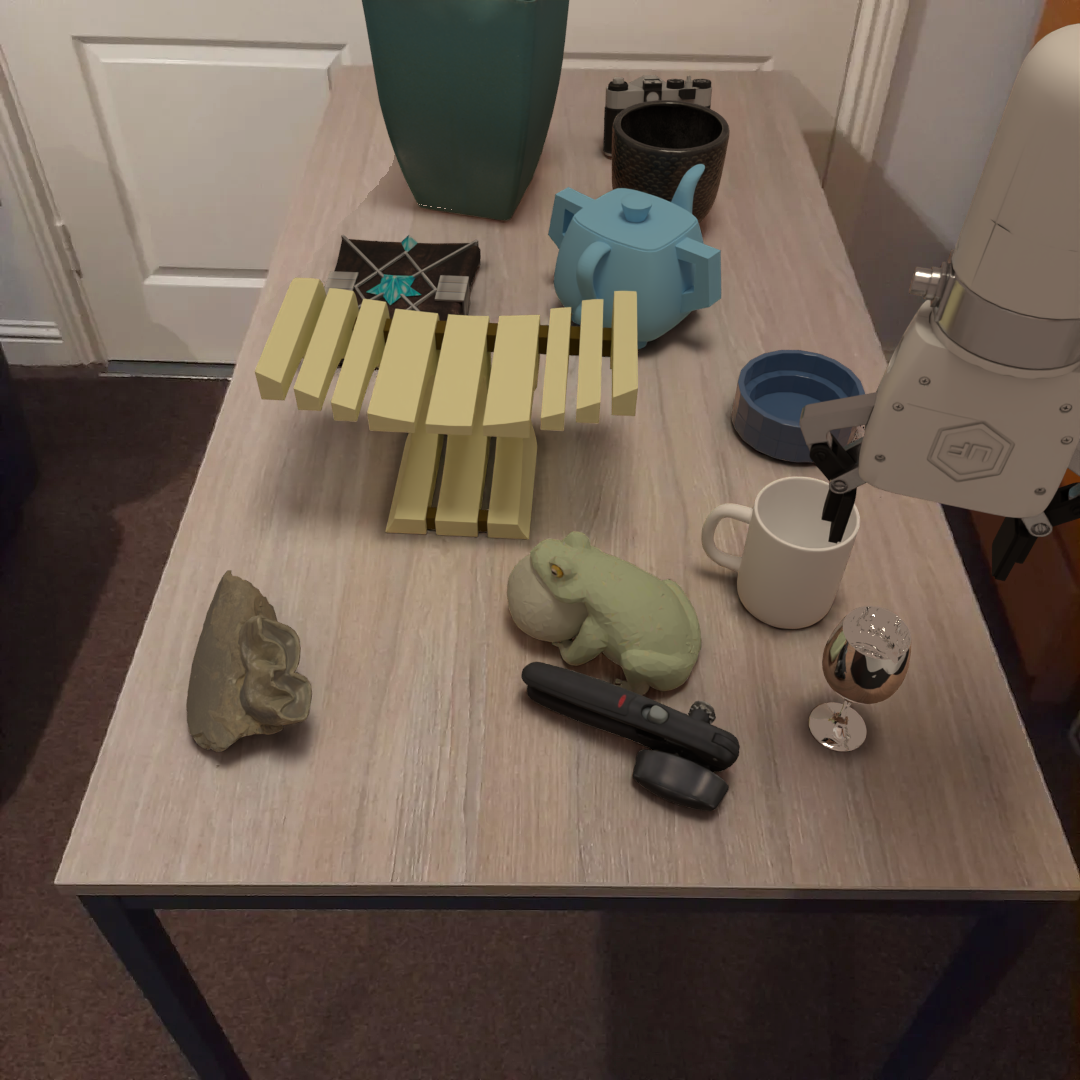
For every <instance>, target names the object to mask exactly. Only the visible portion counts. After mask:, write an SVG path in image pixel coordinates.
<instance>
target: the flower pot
mask: <svg viewBox="0 0 1080 1080" xmlns="http://www.w3.org/2000/svg"><path fill="white" fill-rule="evenodd" d="M361 4H362V9H363V15H364V21H365V27H366V32H367V38H368V43H369V50H370V56H371V61H372V68H373V73H374V74H373V75H374V79H375V87H376V91H377V98H378V103H379V106H380V111H381V115H382V118H383V121H384V125H385V129H386V132H387V135H388V138H389V142H390V145H391V147H392V150H393V153H394V156H395V158H396V160H397V163H398V166H399V168H400V171H401V174H402V176H403V179H404V180H405V182H406V184H407V186H408V188H409V191H410V193H411V195H412V196H413V198H414V200H415V202H416V204H417V203H418V204H417V205H418V207H419V208H421V209H426V210H431V211H438V212H444V213H449V214H457V215H464V216H471V217H476V218H483V219H489V220H490V219H491V220H497V221H503V222H506V221H509V220H511V219H512V217H513V216H514V214H515V212H516V210H517V208H518V206H519V205H520V203H521V201H522V199H523V197H524V195H525V193H526V192H527V190H528V188H529V186H530V184H531V183H532V181H533V178H534V176H535V174H536V171H537V167H538V165H539V162H540V159H541V156H542V153H543V149H544V147H545V144H546V140H547V136H548V134H549V129H550V125H551V121H552V119H553V114H554V111H555V106H556V102H557V97H558V91H559V86H560V82H561V81H560V80H561V75H562V69H563V62H564V54H565V45H566V38H567V27H568V19H569V18H568V17H569V7H570V0H361ZM419 204H420V205H419ZM421 204H422V205H421ZM423 205H427V206H423ZM430 206H432V207H430ZM437 207H441V208H437ZM444 208H446V209H444ZM451 209H452V210H451Z"/></svg>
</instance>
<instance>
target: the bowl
mask: <svg viewBox="0 0 1080 1080" xmlns="http://www.w3.org/2000/svg"><path fill="white" fill-rule="evenodd" d="M734 393H735V394H734V399H733V404H732V409H731V410H732V411H731V415H730V416H731V420H732V425H733V428H734V430H735V431H736V432H737V434H738V435H739V437H740V438H741V439H742V441H744V442H745V443H746V444H748V445H749V446H750V447H752V448H753V449H754V450H755V451H757V452H758V453H759V452H760V453H762V454H764V455H767V456H769V457H771V458H774V459H776V460H782V461H786V462H791V463H814V462H813V461H812V460H811V459H810V456H809V454H810V451H809V448H808V445H806V442H805V439H804V436H803V434H802V431H801V428H800V425H799V422H800V417H801V412H802V409H803V407H804V406H805V405H808V404H813V403H819V402H824V401H830V400H835V399H841V398H847V397H852V396H858V395H863V394H866V392H865V388H864V386H863V384H862V380H860V378H859V377H858V376H857V375H856V374H855V373H854V371H853V370H851V369H850V368H849V367H848V366H846V365H844V364H843V363H842V362H840V361H838V360H836V359H835V358H832V357H829V356H827V355H824V354H821V353H818V352H813V351H808V350H802V349H777V350H773V351H769V352H768V351H767V352H764V353H762V354H760V355H758V356H755V357H753V358H752V359H750V360H749V361H748V362H747V363H746V364H745V365H744V366H743V367H742V368H741V369H740V372H739V375H738V380H737V383H736V389H735V392H734ZM857 429H858V426H855V427H849V428H843V429H837V430H832V431H830V433H831V434H832V435H833V436H834V437H835V438H836V439H837V441H838V442H839V443H840V444H841V446H842V447H844V446H846V445H848V444H850V443H852V442H853V440H854V438H855V434H856V431H857Z"/></svg>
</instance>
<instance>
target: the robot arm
mask: <svg viewBox="0 0 1080 1080" xmlns="http://www.w3.org/2000/svg"><path fill="white" fill-rule="evenodd" d="M908 288H909V289H908V294H909V295H914V296H920V297H922V299H923V300H925V301H924V302H923V303H922V304H921V305H920V307H919V308H918V310H917V311H916V312H915V314H914V316H913V317H912V319H911V320H910V322H909V324H908V326H907V327H906V329H905V331H904V332H903V334H902V336H901V337H900V339H899V342H898V343H897V345H896V347H895V349H894V351H893V353H892V355H891V357H890V359H889V361H888V364H887V366H886V368H885V370H884V372H883V375H882V377H881V379H880V381H879V384H878V386H877V389H876V391H875V392H869V393H865V394H863V395H858V396H852V397H847V398H841V399H835V400H830V401H824V402H819V403H813V404H808V405H805V406H804V407H803V409H802V412H801V417H800V422H799V425H800V428H801V431H802V434H803V436H804V439H805V442H806V445H808V448H809V451H810V454H809V456H810V459H811V460H812V461H813V462H812V463H813V464H814V465H815V466H816V468H818V470H819V471H820V472H821V473H822V475H823V476H824V477H825V478H826V479H827V481H828V483H829V490H828V494H827V497H826V500H825V503H824V507H823V512H822V519H821V520H825V521H829V522H831V527H830V533H829V540H828V542H832V543H836V544H837V542H841V540H842V537H843V535H844V532H845V529H846V526H847V523H848V520H849V518H850V515H851V512H852V509H853V506H854V503H855V504H856V500H857V499H856V498H857V492H858V488H859V487H861V486H863V485H866V484H867V485H869V486H871V487H873V488H876V489H877V490H880V491H883V492H887V493H892V494H896V495H901V496H905V497H909V498H915V499H919V500H924V501H927V502H933V503H936V504H937V503H938V504H942V505H946V506H952V507H955V508H961V509H965V510H970V511H975V512H979V513H985V514H989V515H994V516H1000V517H1004V518H1003V521H1002V523H1001V524H1000V527H999V529H998V531H997V533H995V537H994V538H993V540H992V543H991V577H994V580H997V581H1002V582H1006V580H1007V579H1008V577H1009V575H1010V573H1011V571H1012V569H1013V567H1014V566H1015V564H1021V565H1023V564H1024V562H1025V561H1026V560H1027V557H1028V556H1029V554H1030V552H1031V551H1032V549H1033V547H1034V546H1035V543H1036V542H1037V540H1038V538H1042V537H1047V536H1049V535H1050V534H1052V532H1053V528H1054V527H1057V526H1060V525H1062V524H1066V523H1069V522H1073V521H1076V520H1078V519H1080V481H1078V482H1077V481H1076V482H1072V483H1069V484H1066V485H1063V486H1060V485H1061V483H1062V482H1063V479H1064V476H1065V475H1066V472H1067V470H1069V471H1071V472H1073V474H1075V475H1077V477H1080V23H1073V24H1068V25H1066V26H1063V27H1061V28H1058V29H1055V30H1053V31H1051V32H1049V33H1047V34H1046V35H1045V36H1043V37H1042V38H1041V39H1040V40H1038V41H1037V43H1036V44H1035V45H1034V46H1033V47H1032V48H1031V50H1030V51H1029V52H1028V53H1027V54H1026V56H1025V58H1024V59H1023V61H1022V63H1021V66H1020V68H1019V70H1018V72H1017V75H1016V78H1015V80H1014V82H1013V85H1012V88H1011V90H1010V94H1009V96H1008V99H1007V101H1006V105H1005V106H1004V110H1003V113H1002V116H1001V119H1000V121H999V124H998V127H997V129H996V132H995V135H994V138H993V141H992V144H991V147H990V149H989V152H988V155H987V158H986V160H985V163H984V166H983V169H982V171H981V174H980V177H979V180H978V182H977V185H976V188H975V191H974V193H973V197H972V200H971V202H970V205H969V208H968V211H967V214H966V216H965V218H964V221H963V223H962V227H961V230H960V232H959V235H958V238H957V241H956V243H955V247H954V248H953V249H952V248H951V249H950V252H949V255H948V258H947V260H946V261H944V260H943V261H942V262H941V264H940V266H939V267H938V266H931V267H930V268H927V267H921V266H915V268H914V270H913V272H912V276H911V280H910V283H909V287H908ZM855 426H857V427H860V426H864V434H863V436H861V437H860V438H858V439H856V440H854V441H852V442H851V443H850V444H848V445H846V446H844V447H842V446H841V444H840V443H839V442H838V441H837V439H836V438H835V437H834V436H833V435H832V434H831V433H830V431H832V430H837V429H843V428H849V427H855Z"/></svg>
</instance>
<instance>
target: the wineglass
mask: <svg viewBox="0 0 1080 1080" xmlns="http://www.w3.org/2000/svg"><path fill="white" fill-rule="evenodd" d="M827 639H828V640H827V641H826V643H825V646H824V647H823V648H824V649H823V652H822V660H821V666H822V667H821V668H822V673H823V676H824V679H825V680H826V682H827V684H828V686H829V687H830V688H831V689H832V691H833V692H834V693H835V694H837V695H838V696H839V697H841V698H842V699H843V703H841V702H836V701H827V702H823V703H820V704H818V705H816V706H815V707H814V708H813V709H812V710H811V712H810V714H809V716H808V721H807V725H808V729H809V732H810V735H812V737H813V738H814V739H815V741H816V742H817V743H818V744H819V745H821V746H823V748H826V749H829V750H831V751H834V752H839V753H840V752H841V753H848V752H852V751H855V750H858V749H859V748H860V747H861V746H862V745H863V744H864V743H865V741H866V739H867V736H868V735H867V733H868V730H867V725H866V722H865V720H864V718H863V716H862V715H861V714H860V713H859V712H858V711H857V710H856V709H854V708H853V707H851V705H852V704H859V705H874V704H875V705H876V704H879V703H882V702H884V701H886V700H888V699H890V698H891V697H892V696H893V695H894V694H895V693H896V692H898V690H899V689H900V687H901V686H902V684H903V682H904V681H905V679H906V676H907V674H908V672H909V667H910V663H911V656H912V655H911V654H912V634H911V630H910V628H909V626H908V624H906V622H905V621H904V620H903V619H902V618H901V617H900V616H898V614H896V613H895V612H893V611H891V610H889V609H886V608H883V607H881V606H873V605H864V606H859V607H856V608H854V609H853V610H851V611H850V612H848V613H847V614H846V615H844V617H843V618H842V620H841V621H840V622H839V623H838V624H837V625H836V627H834V629H833V631H832V632H831V634H830V635H829V637H828V638H827Z"/></svg>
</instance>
